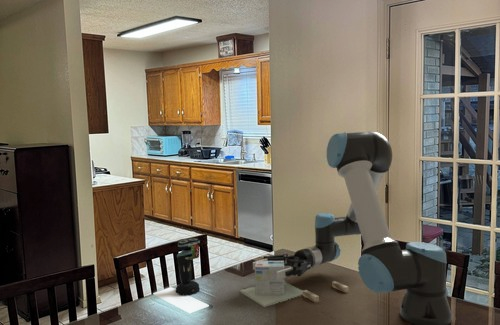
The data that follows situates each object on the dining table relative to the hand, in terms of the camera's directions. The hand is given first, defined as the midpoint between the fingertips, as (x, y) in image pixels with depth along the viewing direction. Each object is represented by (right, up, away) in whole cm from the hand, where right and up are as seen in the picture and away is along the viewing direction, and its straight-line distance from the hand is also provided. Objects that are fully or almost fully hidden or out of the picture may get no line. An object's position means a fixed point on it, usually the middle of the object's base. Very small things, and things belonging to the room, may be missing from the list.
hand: (264, 270), depth 161 cm
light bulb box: (+2, -8, +2) cm, 9 cm away
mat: (+3, -9, +3) cm, 10 cm away
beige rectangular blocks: (+22, -9, +1) cm, 24 cm away
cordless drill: (-28, -10, +7) cm, 31 cm away
